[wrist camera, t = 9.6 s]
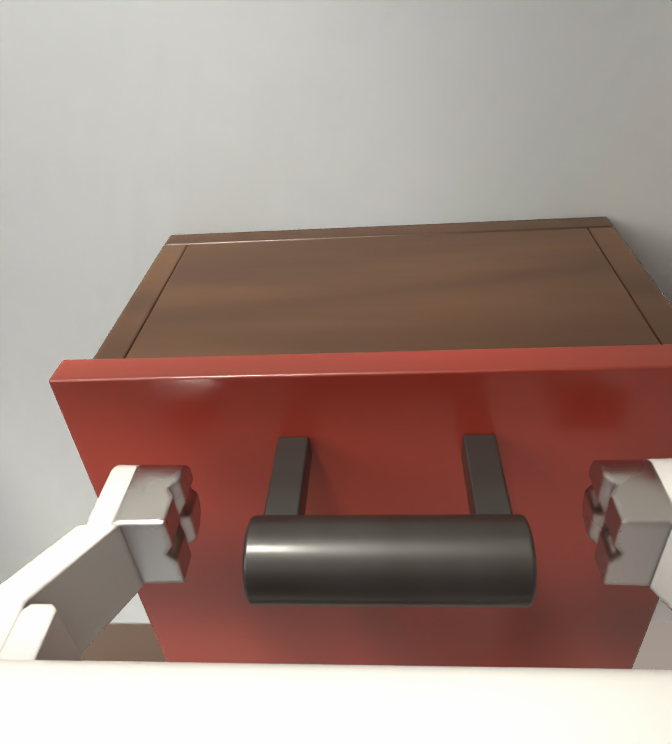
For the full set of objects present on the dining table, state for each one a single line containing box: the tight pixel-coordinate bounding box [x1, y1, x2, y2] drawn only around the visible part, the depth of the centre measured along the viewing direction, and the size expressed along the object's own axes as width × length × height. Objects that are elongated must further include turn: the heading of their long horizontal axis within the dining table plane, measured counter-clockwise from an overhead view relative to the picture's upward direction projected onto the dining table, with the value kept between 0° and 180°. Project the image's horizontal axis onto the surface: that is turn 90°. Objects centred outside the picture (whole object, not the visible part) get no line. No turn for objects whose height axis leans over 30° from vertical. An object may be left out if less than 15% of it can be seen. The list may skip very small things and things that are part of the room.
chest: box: [93, 217, 672, 359], centre depth 22 cm, size 15×14×8 cm
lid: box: [49, 344, 672, 669], centre depth 16 cm, size 16×14×5 cm
